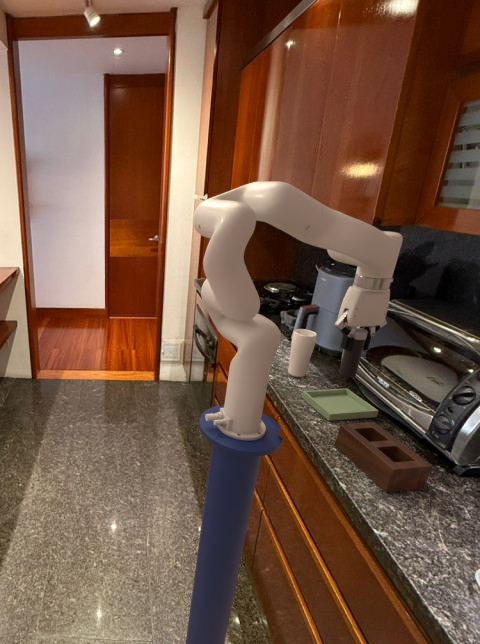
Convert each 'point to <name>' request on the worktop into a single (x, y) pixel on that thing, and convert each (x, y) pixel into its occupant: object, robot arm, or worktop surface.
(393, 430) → the worktop surface
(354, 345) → the tool handle
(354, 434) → the holder
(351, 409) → the tray
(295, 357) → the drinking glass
